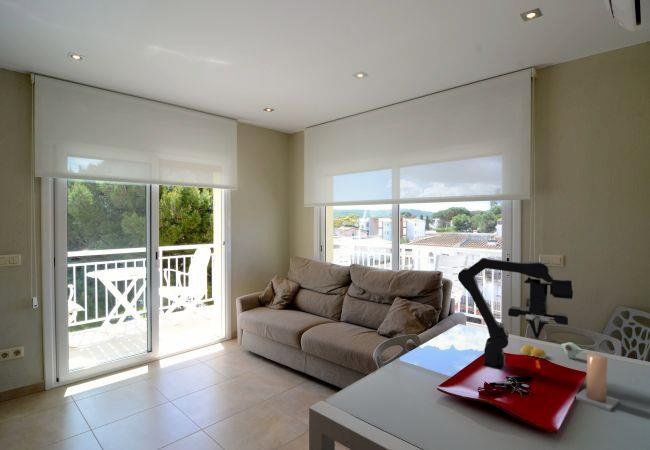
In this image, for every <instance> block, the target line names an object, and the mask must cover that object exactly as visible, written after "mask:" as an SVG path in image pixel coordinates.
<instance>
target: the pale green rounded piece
mask: <svg viewBox="0 0 650 450" xmlns="http://www.w3.org/2000/svg"><path fill="white" fill-rule="evenodd" d="M561 347H562V348H563V350H564V353H565V354H566V356H567V357H568V358H569V359H575V358H576V357H577V355H579V354H581V352H583V351H584V349H582V348H580V347H579V346H578V345H576V344H575V343H574V342H570V341H569V342H566V343H561Z"/></svg>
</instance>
